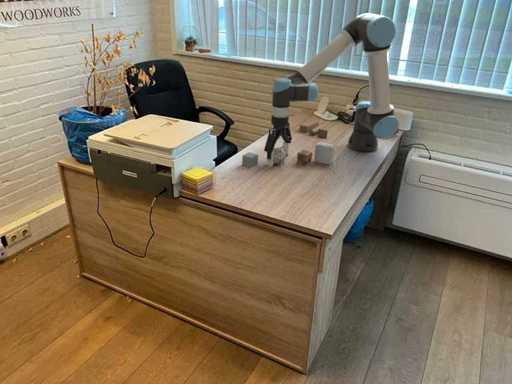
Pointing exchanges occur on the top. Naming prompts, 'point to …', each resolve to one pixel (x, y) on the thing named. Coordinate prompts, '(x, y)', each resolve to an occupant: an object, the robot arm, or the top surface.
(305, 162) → the walnut cube
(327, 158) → the medicine box
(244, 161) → the slate grey cube
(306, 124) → the wooden block set
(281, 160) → the game die
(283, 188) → the top surface
